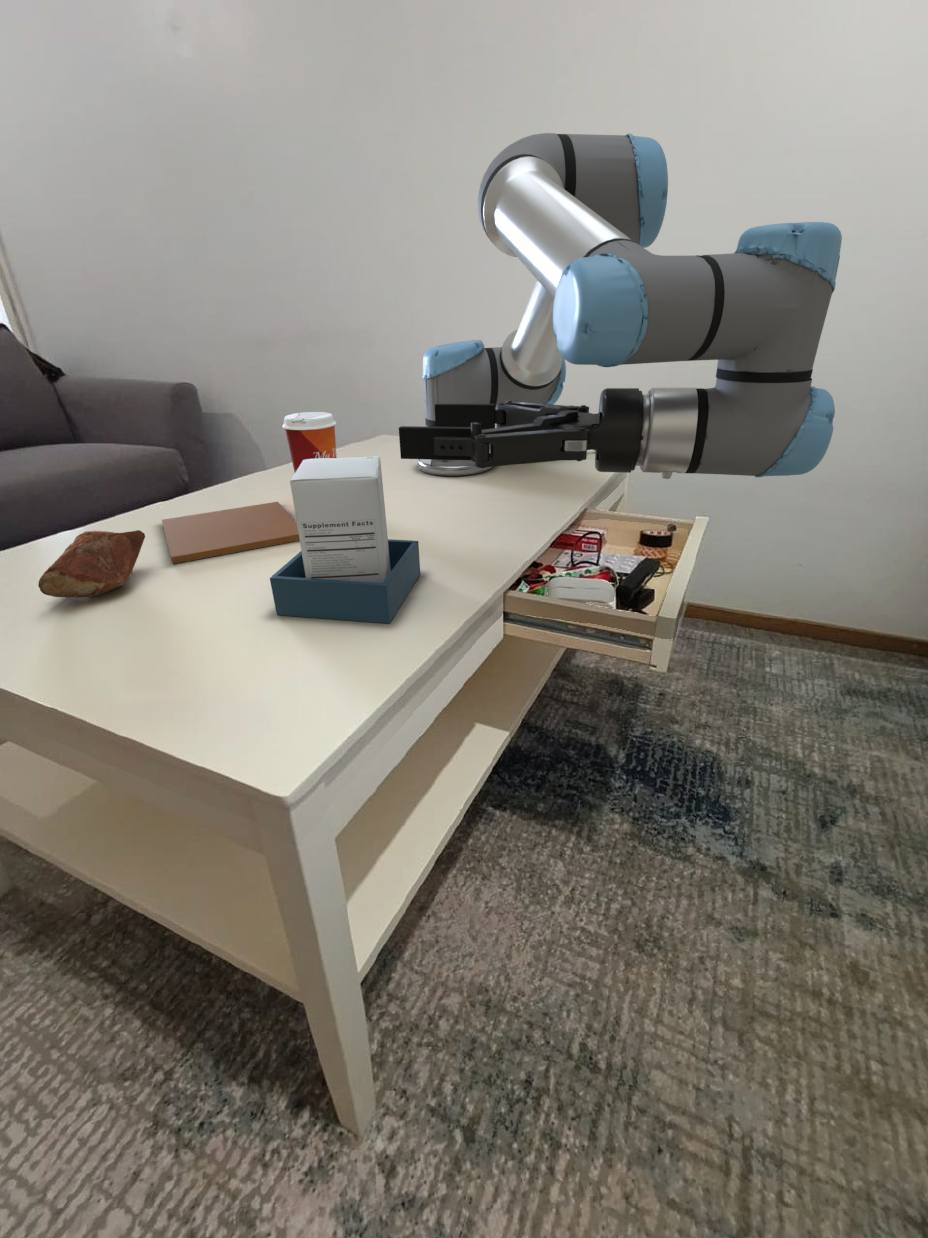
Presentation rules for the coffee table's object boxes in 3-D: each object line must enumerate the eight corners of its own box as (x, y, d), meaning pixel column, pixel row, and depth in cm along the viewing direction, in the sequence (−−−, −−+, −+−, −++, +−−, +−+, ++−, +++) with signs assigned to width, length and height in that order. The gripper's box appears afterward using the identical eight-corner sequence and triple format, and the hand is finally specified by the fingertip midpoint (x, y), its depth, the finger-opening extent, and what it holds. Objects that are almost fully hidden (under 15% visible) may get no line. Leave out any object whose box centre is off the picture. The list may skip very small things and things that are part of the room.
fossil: (143, 535, 78) (107, 486, 69) (180, 574, 76) (148, 529, 67) (53, 593, 73) (1, 549, 64) (89, 637, 71) (41, 597, 62)
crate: (420, 574, 74) (418, 540, 72) (389, 623, 62) (386, 585, 60) (323, 568, 76) (318, 535, 74) (276, 615, 65) (269, 577, 63)
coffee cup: (335, 518, 94) (322, 420, 87) (287, 515, 95) (271, 419, 88) (354, 502, 101) (343, 411, 94) (309, 500, 103) (296, 410, 95)
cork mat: (278, 507, 100) (277, 501, 99) (306, 539, 86) (305, 532, 85) (163, 525, 92) (161, 519, 92) (172, 564, 78) (170, 557, 78)
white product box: (319, 579, 73) (301, 457, 66) (392, 575, 73) (381, 454, 66) (308, 613, 65) (286, 478, 58) (390, 608, 65) (378, 474, 58)
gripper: (646, 511, 46) (385, 501, 49) (628, 444, 67) (448, 441, 71) (659, 410, 42) (376, 408, 46) (636, 373, 64) (445, 374, 68)
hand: (419, 428), depth 59 cm, fingers open, 13 cm apart
